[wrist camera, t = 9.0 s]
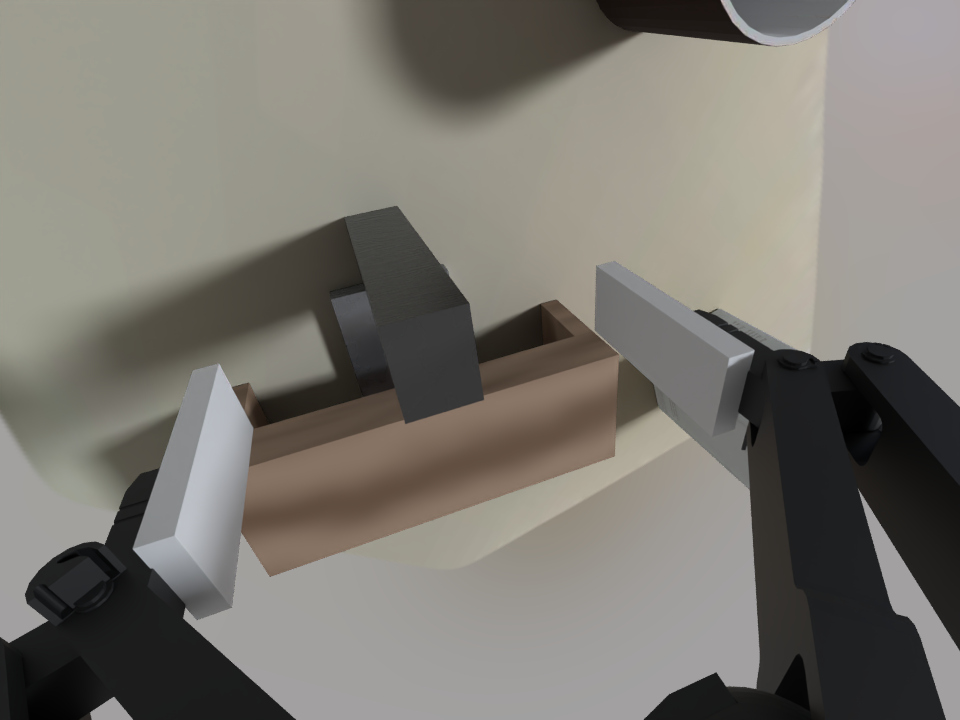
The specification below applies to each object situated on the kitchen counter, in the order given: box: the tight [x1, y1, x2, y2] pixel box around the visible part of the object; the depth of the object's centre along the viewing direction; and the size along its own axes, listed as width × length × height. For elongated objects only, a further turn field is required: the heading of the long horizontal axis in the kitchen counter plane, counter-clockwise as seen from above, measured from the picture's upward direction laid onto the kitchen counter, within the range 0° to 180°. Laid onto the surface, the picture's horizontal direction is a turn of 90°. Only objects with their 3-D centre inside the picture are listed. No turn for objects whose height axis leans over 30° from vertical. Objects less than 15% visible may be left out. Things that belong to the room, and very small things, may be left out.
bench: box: [232, 300, 619, 577], centre depth 30 cm, size 8×22×8 cm, turn 98°
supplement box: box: [654, 309, 796, 490], centre depth 35 cm, size 7×7×13 cm
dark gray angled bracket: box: [330, 206, 484, 424], centre depth 26 cm, size 18×7×14 cm, turn 8°
